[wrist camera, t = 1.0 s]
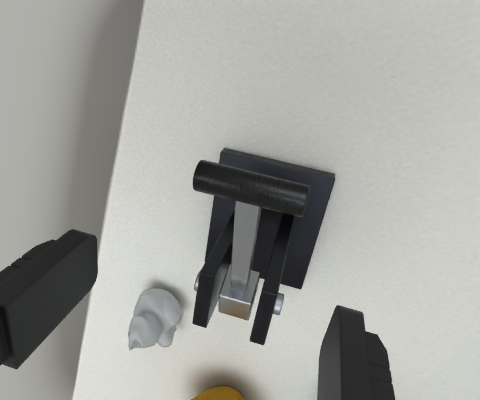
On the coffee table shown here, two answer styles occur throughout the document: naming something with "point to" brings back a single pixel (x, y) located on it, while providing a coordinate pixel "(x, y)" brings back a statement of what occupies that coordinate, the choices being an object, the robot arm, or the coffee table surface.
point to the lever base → (263, 241)
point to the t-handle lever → (246, 223)
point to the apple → (220, 394)
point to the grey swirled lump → (154, 319)
